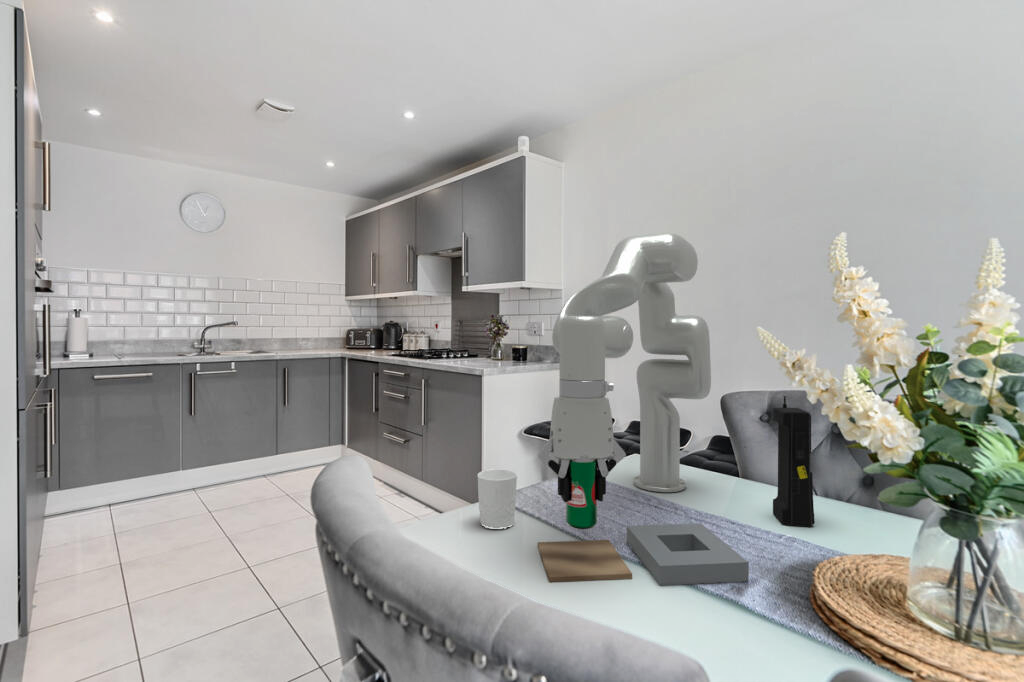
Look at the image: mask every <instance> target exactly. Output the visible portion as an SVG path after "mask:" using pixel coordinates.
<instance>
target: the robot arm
mask: <svg viewBox="0 0 1024 682" xmlns="http://www.w3.org/2000/svg"><path fill="white" fill-rule="evenodd" d="M698 266H699V263H698V255H697V252H696V249H695V248H694V246H693V245H692V244H691V243H690V242H689V241H688V240H687V239H685V237H682V236H680V235H678V234H676V233H672V232H662V233H660V232H659V233H652V234H651V233H650V234H642V235H641V234H640V235H633V236H628V237H626V238H623V239H622V240H620V241H619V242H618V243H617V245H615V247H614V250H613V251H612V254H611V256H610V258H609V260H608V262H607V264H606V266H605V269H604V271H603V273H602V275H601V276H600V277H599V278H597V279H596V280H594V281H592V282H590V283H589V284H587V285H585V287H583V288H581V289H580V290H578V291H577V292H575V293H574V294H573V295H571V296H570V297H569V298H568V299H567V300H566V301H565V303H564V304H563V306H562V308H561V310H560V312H559V313H558V315H557V318H556V320H555V322H554V326H553V329H552V333H551V336H552V337H551V339H552V341H551V342H552V346H553V347H554V349H555V351H556V352H557V353H558V354H559V380H558V382H559V383H558V385H559V391H558V392H559V396H555V397H554V399H553V403H552V408H551V409H552V410H551V418H550V430H549V431H550V433H549V439H548V440H547V441H546V443H544V445H543V446H542V448H541V449H540V450H539V451H538V453H537V458H539V460H540V461H541V462H542V463H544V464H546V465H547V466H548V467H549V468H550V469H551V470H552V471H553V472H554V473H555V474H556V475H557V495H558V496H559V497H560V498H561V499H562V501H563V503H566V502H568V501H569V479H568V477H567V473H566V472H567V469H568V465H569V462H570V460H575V459H579V458H580V456H589V458H591V459H594V460H597V501H598V502H603V501H604V495H606V494H607V492H606V491H607V488H606V486H607V477H608V476H609V473H610V472H611V471H612V470H613V469H614V468H615V467H616V466H617V464H618V463H620V462H621V461H622V460H623V459H625V458H626V456H627V453H626V451H625V450H624V449H623V448H622V447H621V446H620V445H619V443H618V442H617V441H616V439H614V426H613V425H614V424H613V417H612V409H611V405H610V399H609V398H608V397H606V396H607V393H609V392H614V383H613V382H608V381H607V380H606V359H618V358H622V357H623V356H625V355H627V353H629V351H630V350H631V348H632V347H633V343H634V333H633V332H634V331H633V328H632V326H631V324H630V322H628V321H627V319H625V318H623V317H620V316H617V315H609V314H613V313H615V312H618V311H621V310H624V309H626V308H629V307H631V306H632V305H634V304H635V303H637V302H638V304H637V305H638V319H639V332H640V333H639V334H640V335H639V336H640V337H639V338H640V343H641V348H642V349H643V351H644V352H646V353H647V354H649V355H661V356H663V355H664V356H685V357H687V358H688V359H673V358H651V359H647V360H644V361H642V362H641V363H640V364H639V365H638V366H637V370H636V385H637V390H638V397H639V412H640V413H639V420H640V421H639V422H640V423H639V424H640V425H639V426H640V427H639V430H640V431H639V434H640V435H639V436H640V437H639V439H640V440H639V442H640V443H639V450H640V451H639V453H640V454H639V475H637V476H635V477H633V485H635V487H637V488H640V489H641V490H645V491H649V492H656V493H676V492H681V491H683V490H685V489H687V482H686V481H685V480H684V479H682V478H680V474H681V473H680V462H681V461H680V454H681V452H680V451H681V450H680V449H681V446H680V445H681V443H680V440H681V437H680V435H681V434H680V433H681V428H680V427H681V424H680V423H681V422H680V421H681V418H680V414H679V413H680V412H679V411H678V409H677V408H676V406H675V405H674V404H673V402H672V401H671V399H678V400H679V399H682V400H684V399H685V400H704V399H705V398H707V397H708V396H709V394H710V392H711V388H712V369H711V367H712V365H711V343H710V342H711V341H710V338H711V337H710V330H709V326H708V324H707V321H706V320H705V319H704V318H703V317H701V316H699V315H693V314H692V315H691V314H690V315H689V314H688V315H678V314H677V313H676V304H675V299H676V298H675V294H674V291H673V290H672V289H671V287H670V286H669V285H668V283H684V282H685V283H686V282H688V281H691V280H692V279H693V278H694V277H695V275H696V273H697V271H698ZM551 453H552V454H553V455H554V458H557V462H556V461H555V459H553V458H552V457H550V456H549V455H550V454H551Z"/></svg>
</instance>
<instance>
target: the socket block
mask: <svg viewBox="0 0 1024 682" xmlns="http://www.w3.org/2000/svg"><path fill="white" fill-rule="evenodd" d="M627 542H628V543H629V544H630V546H631V547H632V548H631V547H630V546H629V547H630V548H631V550H632V549H633V550H634V551H633V550H632V551H633V552H634V554H635V553H636V554H637V555H636V554H635V555H636V556H637V558H638V559H639V558H640V559H641V560H640V559H639V560H640V562H641V563H642V562H643V563H642V564H643V565H644V567H645V569H647V570H648V572H649V573H650V575H651V576H652V577H653V578H654V579H655V581H656V582H657V584H658V585H659V586H677V585H678V586H680V585H681V586H683V585H685V586H686V585H699V583H707V584H719V583H718V582H729V583H743V581H744V583H746V582H745V581H749V576H750V575H749V574H750V572H749V569H750V568H749V561H748V560H747V559H745V558H744V557H743V556H742V555H740V554H739V553H738V552H737V551H736V550H735V549H733V548H732V547H731V546H729V545H728V544H727V543H726V542H725V541H723V540H722V539H720V538H719V537H718V536H717V535H716V534H714V532H712V531H711V530H709V528H707V527H706V526H704V525H703V524H702V523H701V522H700V523H699V522H698V523H673V524H669V523H668V524H645V525H644V524H643V525H626V543H627ZM628 543H627V544H628ZM629 544H628V545H629ZM716 582H717V583H716Z"/></svg>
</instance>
